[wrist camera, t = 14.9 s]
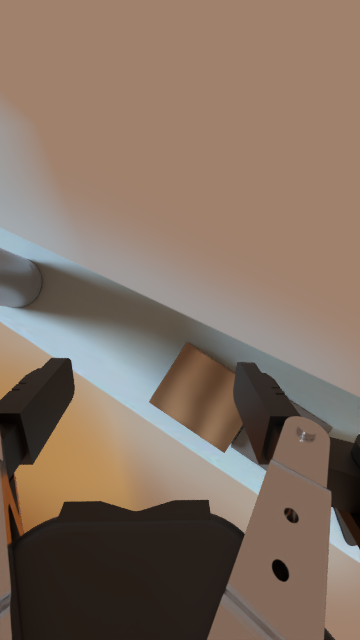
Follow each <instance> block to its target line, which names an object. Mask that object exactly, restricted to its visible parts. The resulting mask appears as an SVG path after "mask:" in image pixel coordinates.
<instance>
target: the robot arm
mask: <svg viewBox="0 0 360 640" xmlns="http://www.w3.org/2000/svg"><path fill="white" fill-rule="evenodd" d="M41 285H42V278H41V274H40V271H39V269H38V268H37V267H36V265H35V264H34V263H32V262H31V261H29V260H27V259H25V258H23V257H20V256H18V255H15V254H13V253H11V252H9V251H6V250H4V249H1V248H0V306H8V307H23V306H26V305H28V304H30V303H31V302H33V301H34V300H35V298H36V297H37V296H38V294H39V292H40V289H41ZM74 387H75V386H74V378H73V371H72V363H71V360H70V359H69V358H51V359H50V360H49V361H48V362H47V363H46V364H45V365H44V366H43V367H42V368H38V369H36V370H34V371H32V372H31V373H29V374H28V375H26V376H25V377H24V378H23V379H22V380H21V381H20V382H19V384H17V385H16V386H14V388H12V391H9V392H8V393H7V394H6V395H5V396H4V397H3V398H2V399H1V400H0V640H335V639H334V638H333V637H332V635H331V634H330V633H329V632H328V631H327V630H326V629H325V609H326V590H327V572H328V571H327V570H328V553H329V535H330V516H331V507H334V508H337V510H338V511H339V513H340V515H341V517H342V519H343V520H344V522H345V524H346V526H347V527H348V529H349V531H350V533H351V535H352V536H353V538H354V540H355V542H356V544H357V545H358V547H359V549H360V434H359V435H358V436H357V438H356V440H355V442H354V443H351V442H347V441H343V440H340V439H336V438H332V437H329V436H328V434H327V432H326V431H325V430H324V429H323V428H322V427H321V426H320V425H318V424H317V423H315V422H314V421H312V420H310V419H307V418H304V417H301V415H300V414H299V413H298V411H297V410H296V408H295V407H294V406H293V404H292V403H291V402H290V400H289V399H288V397H287V396H286V395H285V393H284V392H283V391H282V389H280V387H279V385H278V384H277V382H276V381H275V380H274V379H273V378H272V377H270V376H269V375H267V374H266V373H261V371H260V370H259V368H258V367H257V365H256V364H255V363H247V362H239V363H238V364H237V368H236V374H235V381H234V387H233V398H234V402H235V405H236V407H237V410H238V413H239V415H240V418H241V420H242V423H243V425H244V428H245V431H246V433H247V436H248V438H249V441H250V443H251V446H252V449H253V451H254V454H255V456H256V459H257V461H258V464H259V465H269V466H268V469H267V472H266V475H265V478H264V481H263V484H262V486H261V489H260V492H259V495H258V498H257V501H256V504H255V507H254V509H253V513H252V516H251V518H250V521H249V524H248V527H247V530H246V533H245V534H244V533H243V532H242V531H241V530H240V529H239V528H237V527H236V526H235V525H234V524H232V523H231V522H229V521H227V520H226V519H224V518H222V517H219V516H217V515H214V514H211V513H210V507H209V500H175V501H170V502H167V503H164V504H161V505H158V506H154V507H151V508H148V509H144V510H142V511H131V510H128V509H125V508H121V507H118V506H115V505H111V504H108V503H105V502H101V501H91V502H90V501H86V502H64V504H63V507H62V509H61V512H60V514H59V516H58V517H55V518H52V519H50V520H48V521H45V522H43V523H41V524H39V525H37V526H35V527H34V528H32V529H31V530H29V531H28V532H26V533H24V529H23V523H22V517H21V510H20V503H19V497H18V491H17V483H16V477H15V473H14V472H15V470H16V469H17V468H18V466H19V465H22V464H23V465H29V464H30V465H33V463H34V462H35V460H36V458H37V457H38V455H39V453H40V452H41V450H42V449H43V447H44V445H45V444H46V442H47V440H48V439H49V437H50V435H51V433H52V432H53V430H54V429H55V427H56V425H57V423H58V422H59V420H60V419H61V417H62V415H63V413H64V412H65V410H66V409H67V407H68V405H69V403H70V402H71V400H72V398H73V395H74V390H75V388H74Z"/></svg>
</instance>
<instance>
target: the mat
mask: <svg viewBox="0 0 360 640" xmlns="http://www.w3.org/2000/svg"><path fill="white" fill-rule="evenodd" d="M290 402H291V401H290ZM291 403H292V404H293V406H294V407H295V408H296V410H297V411H298V413H299V414H300V415H301V417H304V418H307V419H310V420H312V421H314V422H315V423H317V424H318V425H320V426H321V427H322V428H323V429H324V430H325V431H326V432H327V434H328V433H329V431H330V430H331V428H332V427H330V426H329V425H327V424H326V423H324V422H322V421H321V420H319V419H318V418H316V417H315V416H313V415H312V414H310V413H308V412H307V411H305V410H304V409H302V408H301V407H299V406H298V405H296V404H294V403H293V402H291ZM231 447H232V448H234V449H235V450H237V451H238V452H240V453H241V454H242V455H244V456H245V457H247V458H248V459H250V460H251V461H253V462H254V463H256V464H257V465H259V464H258V461H257V459H256V456H255V454H254V451H253V449H252V446H251V443H250V441H249V438H248V436H247V433H246V431H245V428H244V426H243V428H242V429H241V431H240V432H239V434H238V435H237V437H236V439H235V440H234V442H233V443H232V445H231ZM259 466H260V467H262V468H263V469H265V470H266V471H267V469H268V466H269V465H259Z"/></svg>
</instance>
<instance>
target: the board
mask: <svg viewBox="0 0 360 640" xmlns="http://www.w3.org/2000/svg"><path fill="white" fill-rule="evenodd" d="M235 374H236V373H234V372H233V371H231V370H230V369H228V368H226V367H225V366H223V365H222V364H220V363H219V362H217V361H216V360H214V359H213V358H211V357H209V356H208V355H206V354H205V353H203V352H202V351H200V350H199V349H197V348H196V347H194V346H192V345H191V344H189V343H188V342H187V343H186V344H185V346H184V347H183V349H182V350H181V352H180V354H179V355H178V357H177V358H176V360H175V361H174V363H173V365H172V366H171V368H170V369H169V371H168V372H167V374H166V375H165V377H164V379H163V380H162V382H161V383H160V385H159V386H158V388H157V390H156V391H155V393H154V394H153V396H152V398H151V399H150V401H149V402H150V403H151V404H153V405H154V406H155V407H157V408H158V409H160V410H161V411H163V412H164V413H166V414H167V415H169V416H170V417H172V418H173V419H175V420H176V421H178V422H179V423H181V424H182V425H184V426H185V427H187V428H188V429H190V430H191V431H193V432H194V433H196V434H197V435H198V436H200V437H201V438H203V439H204V440H206V441H207V442H209V443H210V444H212V445H213V446H215V447H216V448H218V449H219V450H221V451H222V452H224V453H225V451H226V450H227V448H228V447H229V445H230V443H231V442H232V440H233V439H234V437H235V436H236V434H237V432H238V431H239V429H240V428H241V426H242V425H243V423H242V420H241V418H240V415H239V413H238V410H237V407H236V405H235V402H234V398H233V387H234V381H235Z"/></svg>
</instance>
